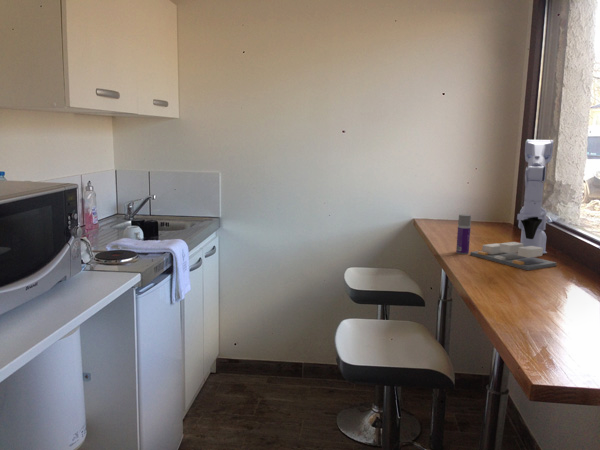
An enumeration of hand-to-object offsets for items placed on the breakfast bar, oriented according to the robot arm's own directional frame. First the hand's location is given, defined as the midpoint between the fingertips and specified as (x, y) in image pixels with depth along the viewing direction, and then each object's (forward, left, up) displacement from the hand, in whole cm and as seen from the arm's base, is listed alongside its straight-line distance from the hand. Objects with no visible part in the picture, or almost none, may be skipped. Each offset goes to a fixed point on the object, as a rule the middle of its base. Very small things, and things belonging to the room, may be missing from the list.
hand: (529, 238), depth 188 cm
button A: (0, -15, -8) cm, 17 cm away
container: (+7, -24, -10) cm, 27 cm away
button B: (0, -7, -6) cm, 9 cm away
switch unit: (-1, -7, -10) cm, 12 cm away
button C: (0, +1, -6) cm, 6 cm away
